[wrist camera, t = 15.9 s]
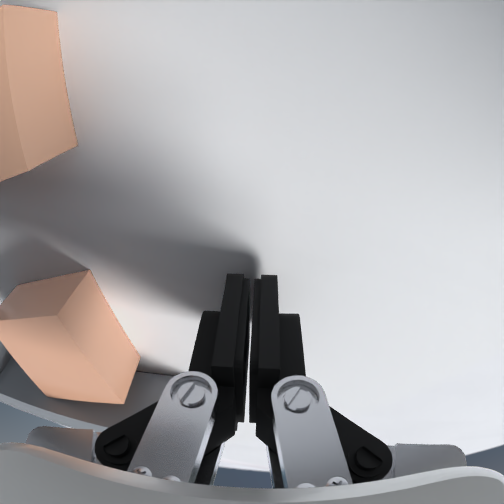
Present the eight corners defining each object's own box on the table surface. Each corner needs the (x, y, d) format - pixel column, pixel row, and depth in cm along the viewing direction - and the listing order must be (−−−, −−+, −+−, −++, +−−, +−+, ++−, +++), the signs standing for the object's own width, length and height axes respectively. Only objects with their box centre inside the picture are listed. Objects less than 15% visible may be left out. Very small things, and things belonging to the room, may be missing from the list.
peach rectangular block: (92, 266, 12) (57, 315, 9) (141, 353, 14) (123, 404, 11) (19, 282, 12) (-14, 321, 10) (68, 355, 15) (47, 396, 12)
